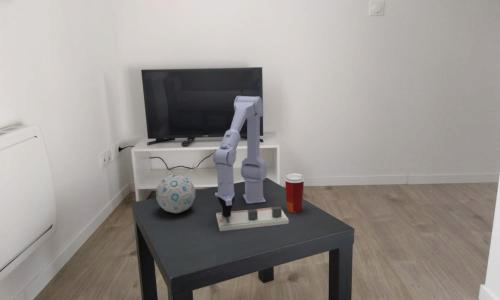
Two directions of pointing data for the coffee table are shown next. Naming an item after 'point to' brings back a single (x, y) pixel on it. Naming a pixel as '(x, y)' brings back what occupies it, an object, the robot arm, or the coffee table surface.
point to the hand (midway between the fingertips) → (227, 216)
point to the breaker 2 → (276, 211)
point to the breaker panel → (241, 220)
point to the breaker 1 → (252, 214)
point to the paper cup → (294, 192)
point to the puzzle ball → (175, 193)
